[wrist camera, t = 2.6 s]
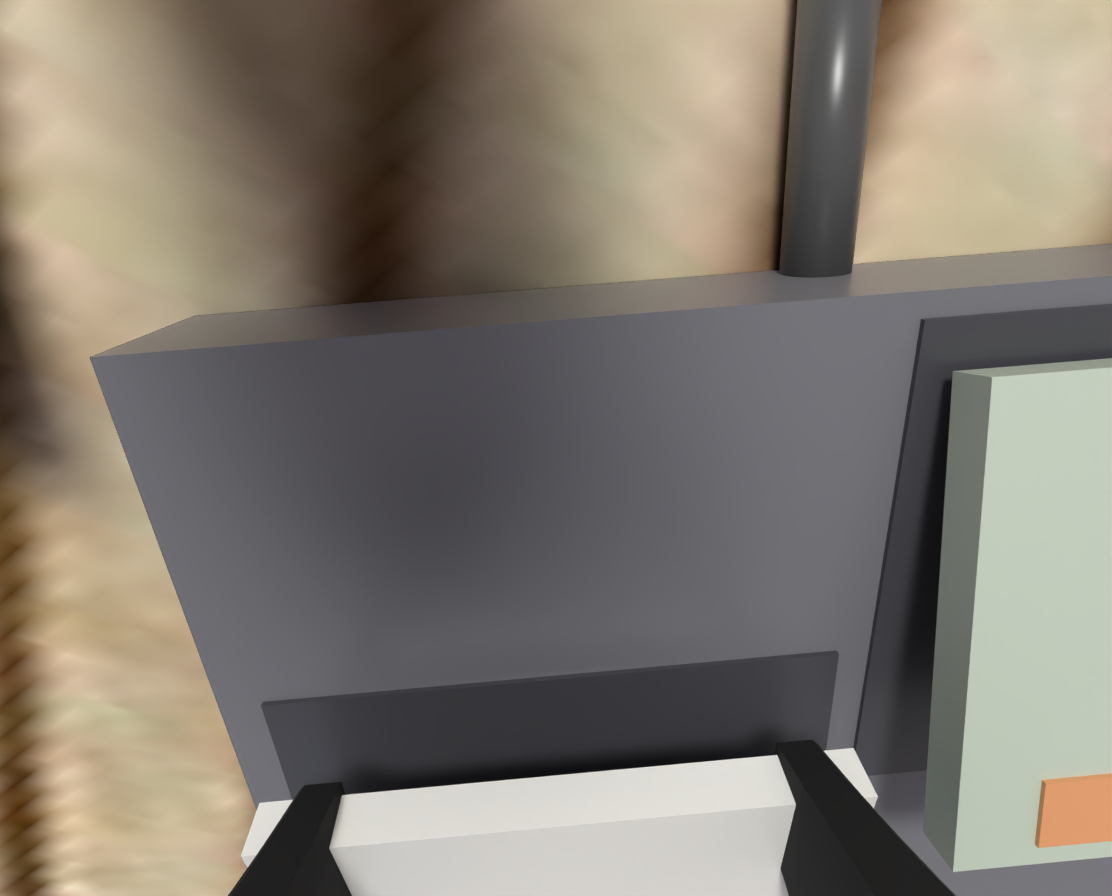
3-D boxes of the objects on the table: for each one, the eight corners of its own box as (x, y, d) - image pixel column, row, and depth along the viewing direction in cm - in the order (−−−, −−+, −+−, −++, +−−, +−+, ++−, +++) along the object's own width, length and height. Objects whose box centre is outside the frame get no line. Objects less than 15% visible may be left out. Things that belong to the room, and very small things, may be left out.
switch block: (1140, 807, 18) (1255, 924, 15) (360, 881, 18) (329, 1015, 15) (1549, -161, 10) (1978, -306, 7) (83, -62, 9) (-113, -171, 6)
